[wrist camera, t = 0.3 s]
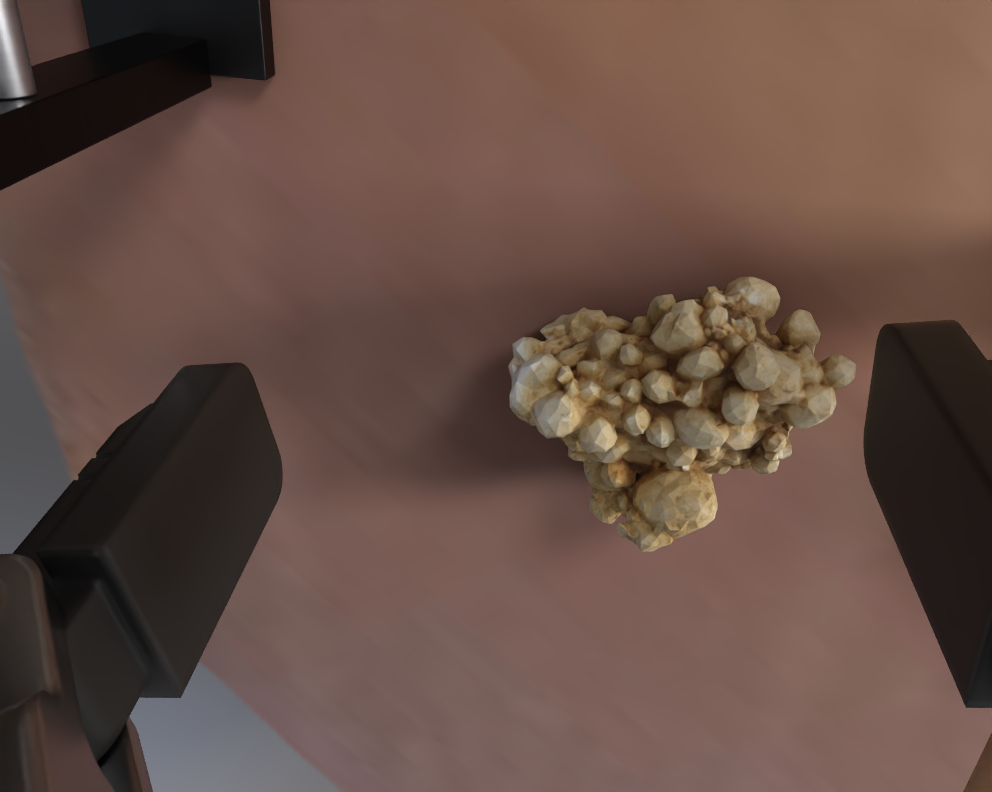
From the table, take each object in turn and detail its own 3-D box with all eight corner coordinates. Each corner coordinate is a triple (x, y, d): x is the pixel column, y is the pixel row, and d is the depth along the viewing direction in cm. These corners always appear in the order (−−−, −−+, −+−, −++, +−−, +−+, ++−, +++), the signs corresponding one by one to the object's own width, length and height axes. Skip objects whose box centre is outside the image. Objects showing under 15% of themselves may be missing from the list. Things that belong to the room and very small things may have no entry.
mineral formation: (491, 319, 42) (779, 183, 35) (613, 476, 49) (871, 386, 42) (474, 428, 36) (816, 288, 30) (616, 590, 43) (916, 505, 37)
